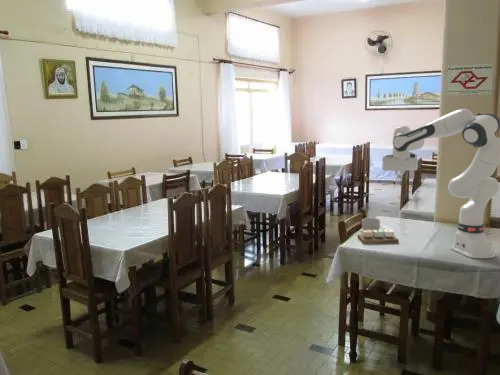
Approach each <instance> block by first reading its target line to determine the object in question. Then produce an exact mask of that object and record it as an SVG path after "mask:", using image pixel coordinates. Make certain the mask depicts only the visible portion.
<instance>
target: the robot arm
mask: <svg viewBox="0 0 500 375" xmlns="http://www.w3.org/2000/svg"><path fill="white" fill-rule="evenodd" d="M499 130H500V118H499V117H498V116H497V115H496V114H493V113H477V114H476V115H474V114H473V113H472V111H471V110H469V109H468V108H460V109H456V110H454V111H452V112H449V113H447V114H444V115H443V116H441V117H439V118H437V119H435V120H433V121H432V122H428V123H427V124H426V125H423V126H420V127H418V128H416V129H413V130H411V128H410V127H409V126H408V125H407V126H398V127H396V128H394V130H393V135H392V136H393V138H392V146H393V147H392V154H385V155H383V157H382V160H381V161H382V165H381V169H382V171H384V172H387V171H389V172H393V171H394V173H395V175H396V176H395V177H396V179H403V175H404V174H405V171H406V172H407V171H417V170H418V169H419V161H418V159H417V158H418V154H416V153H414V152H411V151H416V150H417V151H418V150H420V149H422V148H423V146H424V144H425V139H435V138H436V139H437V138H438V139H439V138H447V137H451V136H454V135H457V134H459V133H461V136H462V138H463V139H462V140H464V141H465V142H466V143H467V144H469V145H471V146H472V147H474V148H478V149H477V150H476V153H475V155H474V157H473V159H472V161H471V163H470V164H469V165H468V167H467V168H466V169H465V170H464V171H463V172H462V173H461V174H459V175H458V176H456V177H454V178H452V179H450V181H449V182H448V185H447V190H448V192H449V195H450V196H451V197H454V198H459V199H468V201H467V202H466V203H464V204H463V205H461V206H460V209H459V216H458V222H457V231H456V233H455V234H454V238H453V239H454V240H453V244H452V246H450V250H452V251H454V252H456V253H459V254H461V255H463V256H465V257H467V258H471V259H493V258H496V254H495V253H494V252H492V250H491V245H492V242H491V241H490V240H488V238H487V237H486V235H485V233H484V232H485V228H484V223H483V222H484V221H483V220H484V219H483V218H484V213H485V209H486V206H487V205H488V203H489V201H490V200H491V199H492V198H493V197H494V196H496V195H497V194H498V192H499V190H500V184H499V182H498V180H497V179H496V178H494V177H491V176H493V174H494V173H495V171H496V169H497V168H498V165H499V164H500V137H497V135H496V134H497V132H498V131H499ZM399 171H400V172H401V173H400V174H399Z"/></svg>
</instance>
